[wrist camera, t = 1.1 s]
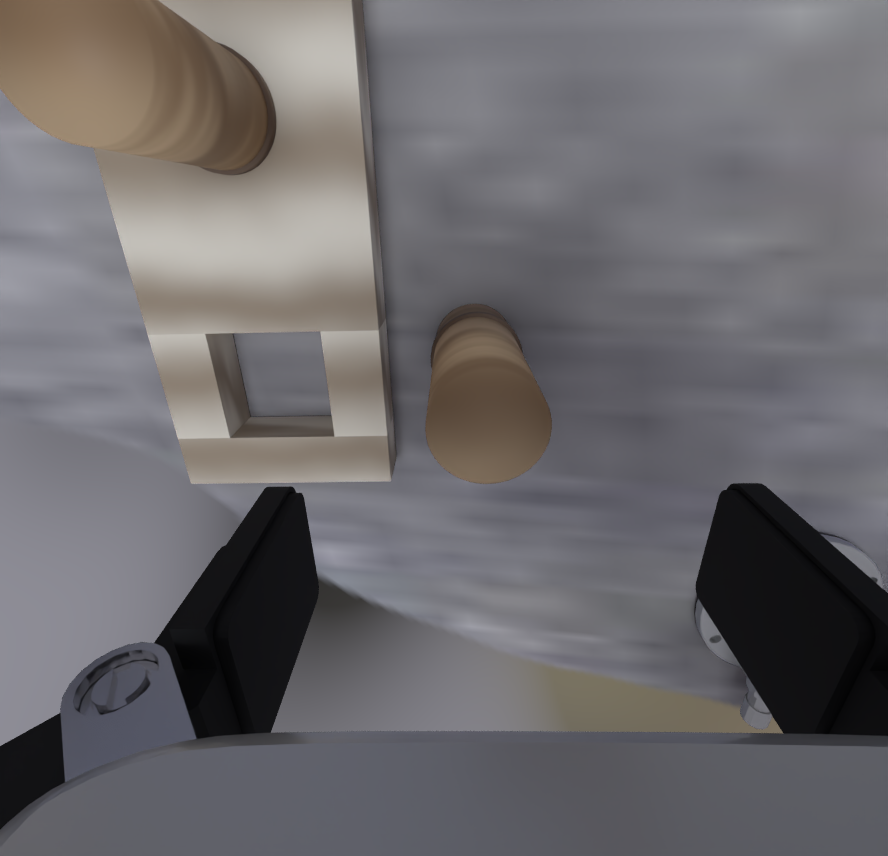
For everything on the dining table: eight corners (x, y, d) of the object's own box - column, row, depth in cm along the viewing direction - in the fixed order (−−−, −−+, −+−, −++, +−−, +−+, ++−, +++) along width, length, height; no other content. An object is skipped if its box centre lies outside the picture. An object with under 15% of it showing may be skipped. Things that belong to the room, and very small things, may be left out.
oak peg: (512, 380, 28) (550, 486, 17) (434, 381, 28) (424, 488, 17) (515, 300, 26) (561, 363, 15) (431, 302, 26) (418, 366, 15)
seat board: (396, 457, 30) (365, 594, 20) (214, 459, 31) (84, 595, 20) (360, -28, 20) (255, -301, 10) (89, -18, 21) (-313, -273, 10)
